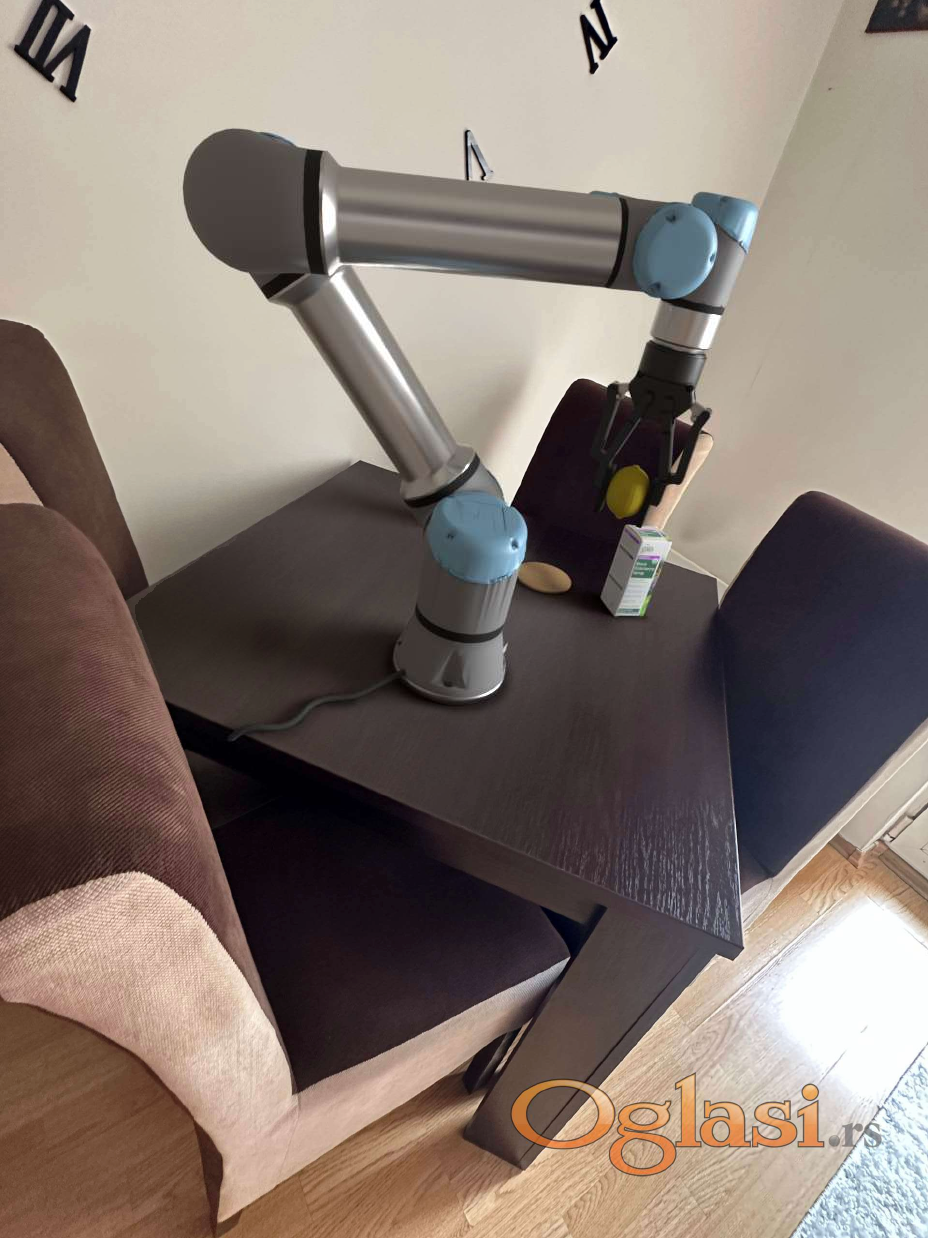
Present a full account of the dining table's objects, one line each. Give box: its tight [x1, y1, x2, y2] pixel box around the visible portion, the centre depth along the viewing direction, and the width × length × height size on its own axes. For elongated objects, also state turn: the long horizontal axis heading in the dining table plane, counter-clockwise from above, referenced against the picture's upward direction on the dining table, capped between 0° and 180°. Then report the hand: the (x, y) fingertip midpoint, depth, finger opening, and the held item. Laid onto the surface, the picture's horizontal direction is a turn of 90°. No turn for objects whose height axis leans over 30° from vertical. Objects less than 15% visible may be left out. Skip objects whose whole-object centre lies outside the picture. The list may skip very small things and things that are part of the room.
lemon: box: [605, 464, 650, 520], centre depth 90 cm, size 6×6×8 cm
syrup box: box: [600, 524, 673, 617], centre depth 107 cm, size 6×6×14 cm
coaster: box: [517, 561, 572, 595], centre depth 115 cm, size 10×10×1 cm
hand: (619, 516), depth 92 cm, fingers closed on lemon, 6 cm apart
